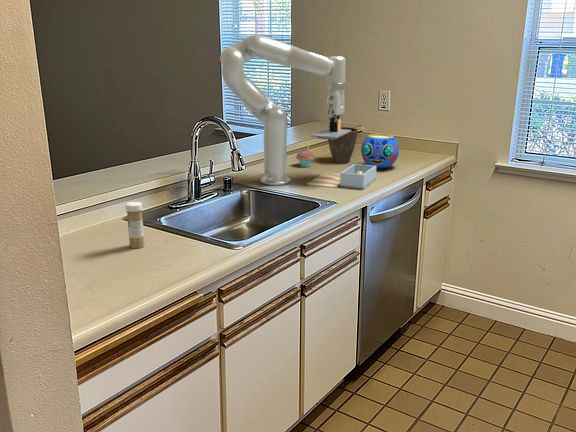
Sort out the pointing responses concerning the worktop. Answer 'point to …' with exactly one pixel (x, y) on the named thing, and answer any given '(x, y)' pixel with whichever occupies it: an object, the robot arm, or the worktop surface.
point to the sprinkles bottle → (135, 224)
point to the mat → (326, 180)
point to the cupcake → (305, 157)
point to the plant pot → (343, 146)
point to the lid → (331, 135)
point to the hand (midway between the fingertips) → (334, 130)
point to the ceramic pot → (380, 150)
